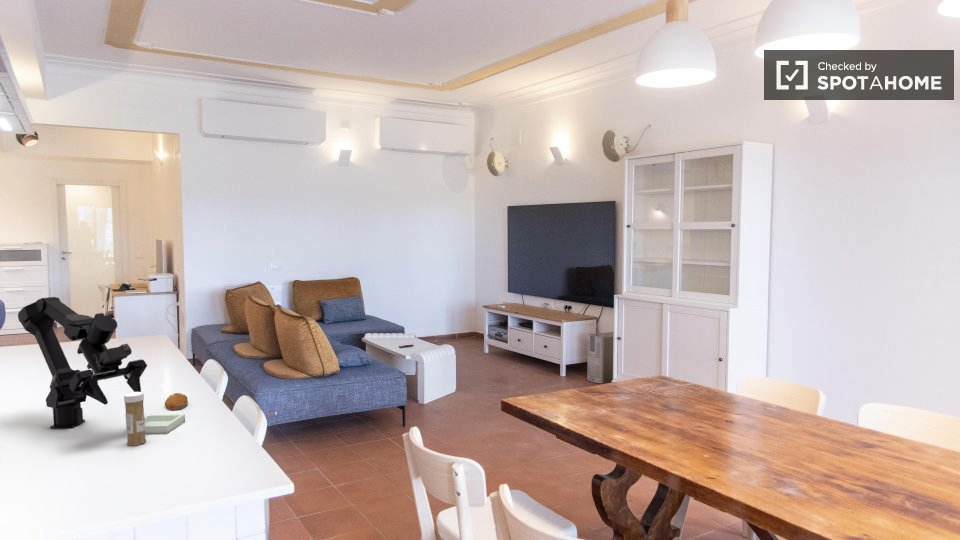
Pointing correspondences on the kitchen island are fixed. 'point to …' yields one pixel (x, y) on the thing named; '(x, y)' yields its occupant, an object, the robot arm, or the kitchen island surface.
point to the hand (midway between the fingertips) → (123, 399)
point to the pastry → (176, 401)
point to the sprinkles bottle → (135, 418)
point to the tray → (162, 423)
